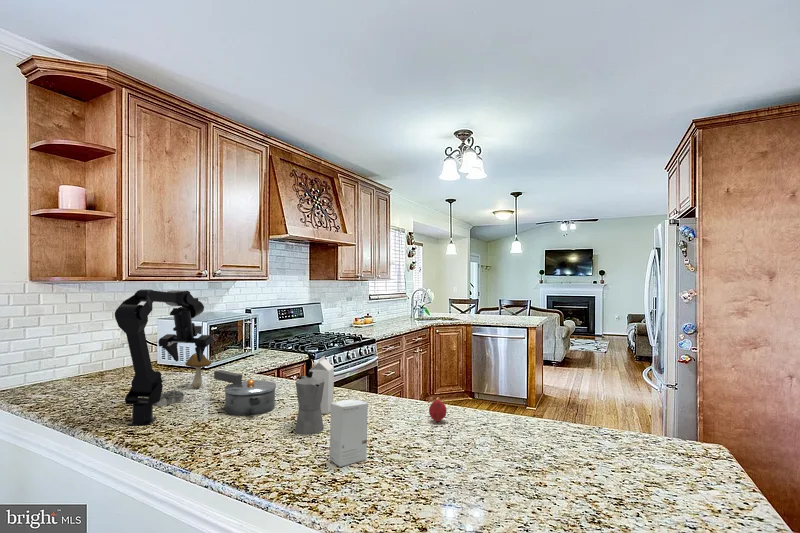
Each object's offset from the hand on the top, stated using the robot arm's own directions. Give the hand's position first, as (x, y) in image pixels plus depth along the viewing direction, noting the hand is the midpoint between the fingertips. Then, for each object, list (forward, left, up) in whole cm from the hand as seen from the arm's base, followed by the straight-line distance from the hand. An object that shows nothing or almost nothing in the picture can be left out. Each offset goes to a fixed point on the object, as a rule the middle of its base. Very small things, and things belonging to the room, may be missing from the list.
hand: (188, 361), depth 166 cm
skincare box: (-64, -57, -15) cm, 87 cm away
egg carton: (0, +7, -16) cm, 17 cm away
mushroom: (+21, +2, -15) cm, 26 cm away
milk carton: (-20, -50, -15) cm, 56 cm away
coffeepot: (-38, -46, -15) cm, 62 cm away
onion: (-38, -88, -15) cm, 97 cm away
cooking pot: (-14, -25, -15) cm, 32 cm away
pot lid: (-9, -21, -8) cm, 24 cm away
